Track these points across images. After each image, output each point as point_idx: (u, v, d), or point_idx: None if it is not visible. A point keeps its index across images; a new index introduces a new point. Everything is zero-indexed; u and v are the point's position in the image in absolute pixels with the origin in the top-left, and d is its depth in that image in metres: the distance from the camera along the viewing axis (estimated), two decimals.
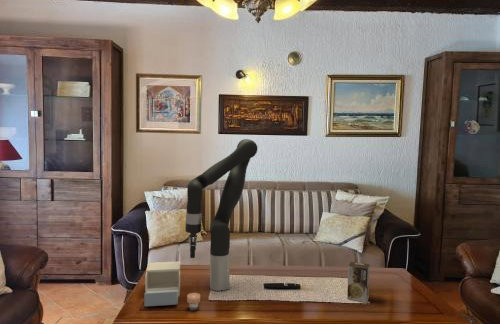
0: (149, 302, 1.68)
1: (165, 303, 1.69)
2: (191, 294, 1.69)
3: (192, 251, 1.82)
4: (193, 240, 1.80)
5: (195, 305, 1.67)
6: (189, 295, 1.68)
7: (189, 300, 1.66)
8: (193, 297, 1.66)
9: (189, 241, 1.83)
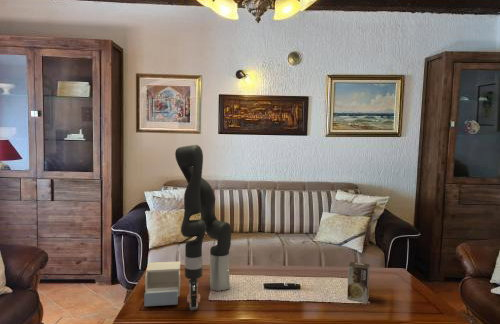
0: (149, 302, 1.68)
1: (165, 303, 1.69)
2: None
3: (193, 300, 1.64)
4: (194, 289, 1.61)
5: None
6: (189, 295, 1.68)
7: (189, 300, 1.66)
8: None
9: None
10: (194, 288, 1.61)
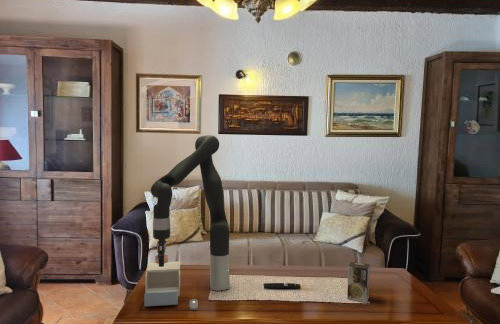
0: (149, 302, 1.68)
1: (165, 303, 1.69)
2: None
3: (160, 259, 1.69)
4: (161, 249, 1.66)
5: (195, 305, 1.67)
6: (157, 256, 1.73)
7: (157, 260, 1.71)
8: None
9: (157, 249, 1.70)
10: (161, 247, 1.66)
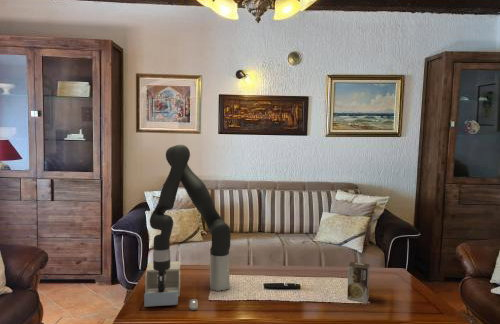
0: (149, 302, 1.67)
1: (165, 303, 1.69)
2: None
3: (160, 290, 1.70)
4: (161, 279, 1.67)
5: (195, 305, 1.67)
6: None
7: None
8: None
9: None
10: (161, 278, 1.68)
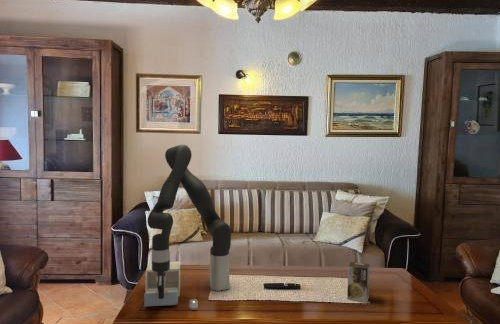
0: (149, 302, 1.67)
1: (165, 303, 1.69)
2: None
3: (160, 291, 1.65)
4: (160, 285, 1.60)
5: (195, 305, 1.67)
6: None
7: None
8: None
9: None
10: (160, 284, 1.60)
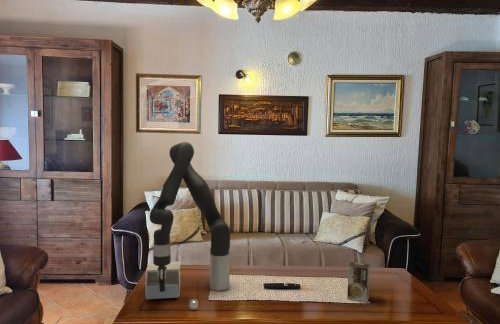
0: (151, 295, 1.75)
1: (166, 296, 1.76)
2: None
3: (161, 285, 1.72)
4: (161, 278, 1.67)
5: (195, 305, 1.67)
6: (159, 285, 1.82)
7: None
8: None
9: (158, 275, 1.71)
10: (162, 277, 1.67)
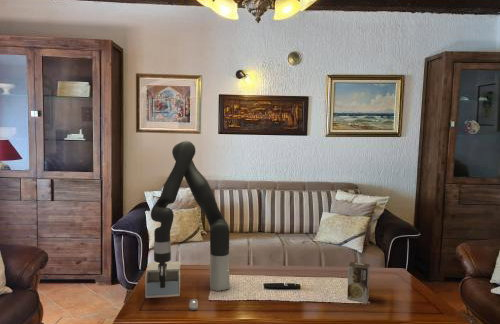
0: (152, 291, 1.78)
1: (166, 292, 1.80)
2: None
3: (162, 281, 1.76)
4: (162, 275, 1.71)
5: (195, 305, 1.67)
6: None
7: None
8: None
9: None
10: (162, 274, 1.71)
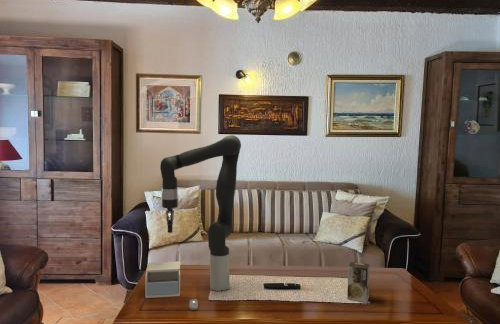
0: (152, 291, 1.78)
1: (166, 292, 1.80)
2: (161, 281, 1.87)
3: (169, 226, 1.89)
4: (169, 219, 1.85)
5: (195, 305, 1.67)
6: None
7: None
8: None
9: (166, 217, 1.89)
10: (170, 218, 1.85)
